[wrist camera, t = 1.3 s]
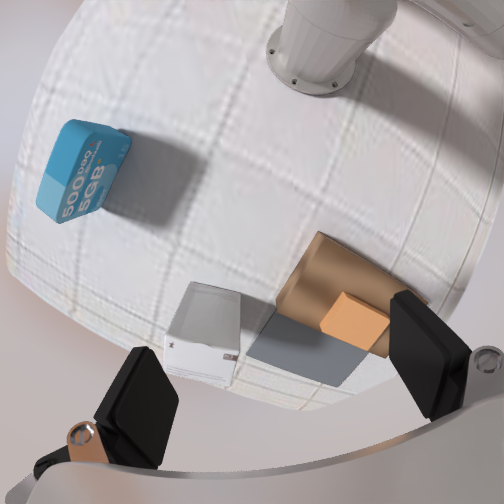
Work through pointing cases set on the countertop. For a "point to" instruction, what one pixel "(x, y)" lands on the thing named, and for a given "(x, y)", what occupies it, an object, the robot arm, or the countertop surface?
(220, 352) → the skincare box
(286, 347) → the mat
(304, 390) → the countertop surface
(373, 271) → the brown wooden block
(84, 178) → the data package
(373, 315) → the tan foam pad
